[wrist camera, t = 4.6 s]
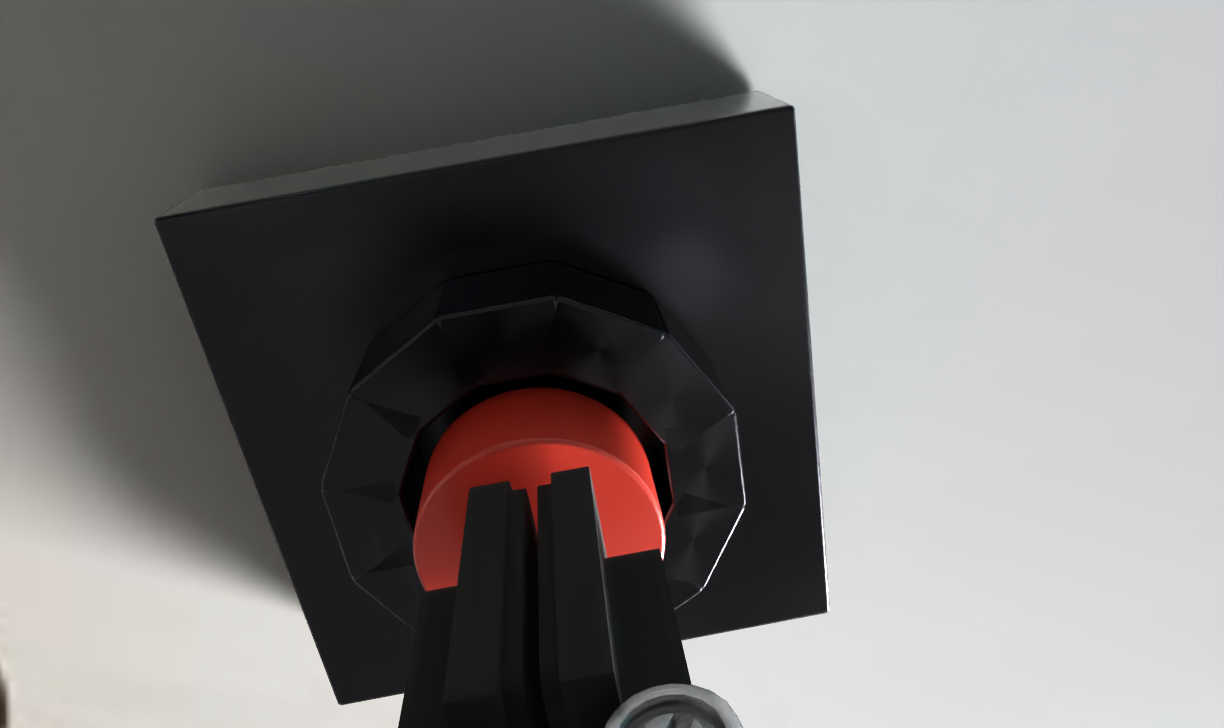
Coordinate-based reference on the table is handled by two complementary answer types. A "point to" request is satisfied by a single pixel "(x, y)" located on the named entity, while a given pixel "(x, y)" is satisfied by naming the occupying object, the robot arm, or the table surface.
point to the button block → (520, 349)
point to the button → (534, 472)
